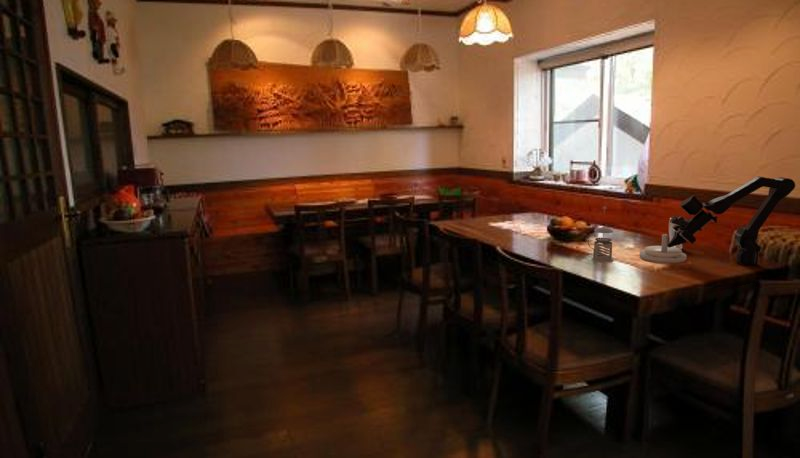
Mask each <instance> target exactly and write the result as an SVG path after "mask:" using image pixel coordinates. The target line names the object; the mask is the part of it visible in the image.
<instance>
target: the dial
mask: <svg viewBox="0 0 800 458" xmlns="http://www.w3.org/2000/svg"><path fill="white" fill-rule="evenodd" d="M668 244H669V234H666V233H665V234H664V233H663V234H662V235H661V245H648V246H645V247H644V250H645V252H644V253H645V254H647V255H650V256H656V257H679V256H681V254H682V253H683V251H682V249H679V248H675V247H670V248H669V247H668V246H667V245H668Z"/></svg>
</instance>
